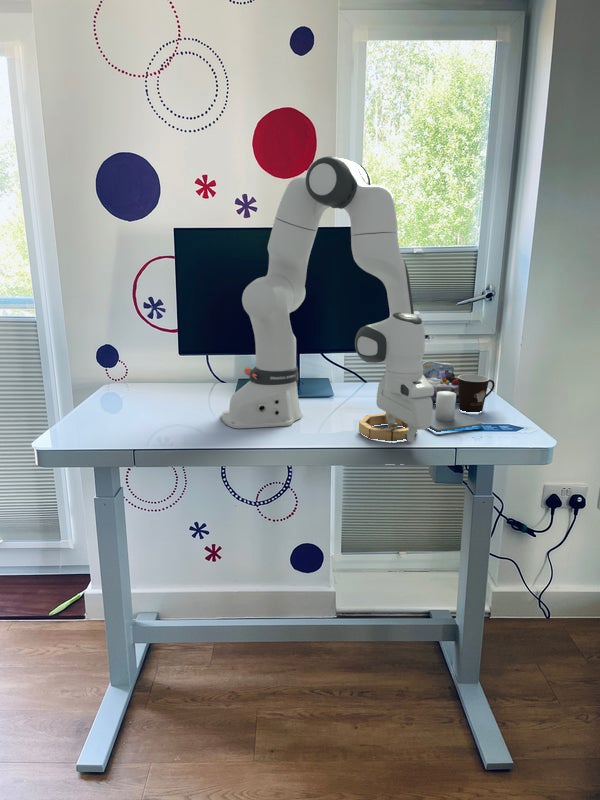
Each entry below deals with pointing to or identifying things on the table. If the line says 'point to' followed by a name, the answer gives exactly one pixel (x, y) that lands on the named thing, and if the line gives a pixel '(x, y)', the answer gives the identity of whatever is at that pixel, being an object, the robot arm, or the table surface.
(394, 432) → the wooden ring
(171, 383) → the table surface
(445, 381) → the cell model
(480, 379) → the coffee mug
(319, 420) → the table surface
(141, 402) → the table surface
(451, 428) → the piston stand
